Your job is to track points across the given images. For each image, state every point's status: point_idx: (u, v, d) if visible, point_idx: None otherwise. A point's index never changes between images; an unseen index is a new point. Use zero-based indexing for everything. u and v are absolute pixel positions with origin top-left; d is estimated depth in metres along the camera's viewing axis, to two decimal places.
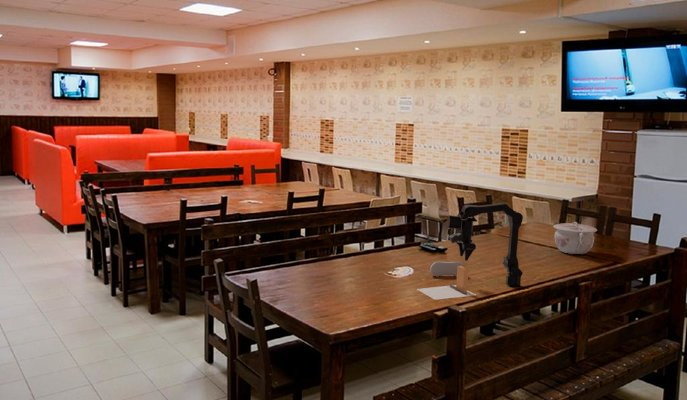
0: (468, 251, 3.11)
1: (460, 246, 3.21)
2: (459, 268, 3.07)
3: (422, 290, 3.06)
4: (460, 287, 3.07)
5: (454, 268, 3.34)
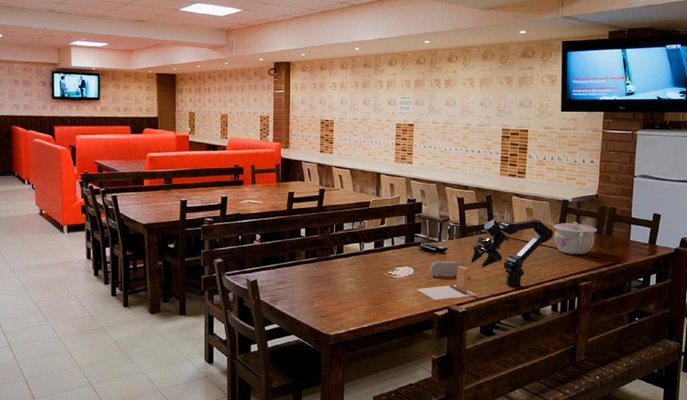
0: (490, 260, 3.06)
1: (476, 253, 3.15)
2: (459, 268, 3.07)
3: (422, 290, 3.06)
4: (460, 287, 3.07)
5: (454, 268, 3.34)
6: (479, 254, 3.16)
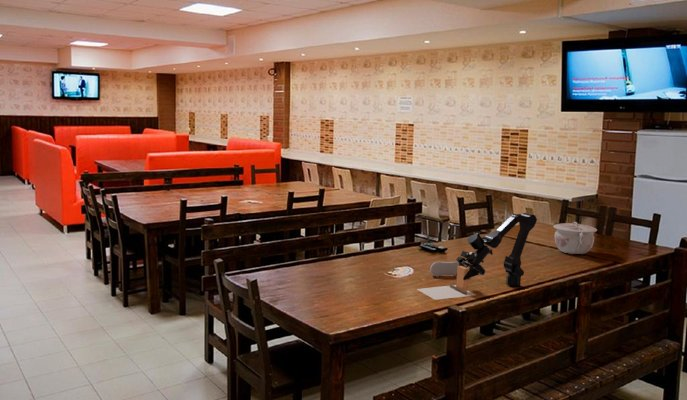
0: (471, 273, 3.04)
1: None
2: (459, 268, 3.07)
3: (422, 290, 3.06)
4: (460, 287, 3.07)
5: (454, 268, 3.34)
6: None
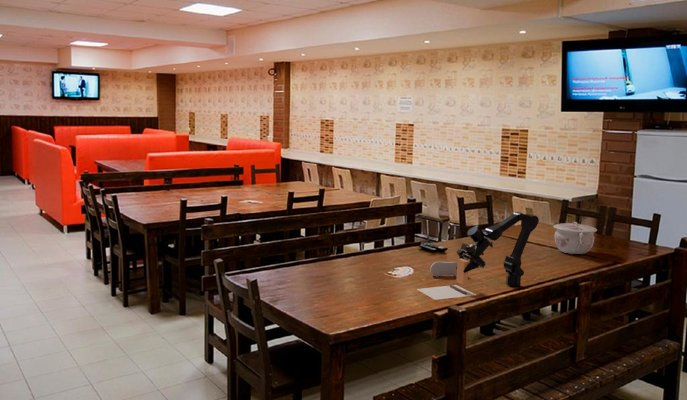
0: (472, 265, 3.03)
1: None
2: (459, 261, 3.07)
3: (422, 290, 3.06)
4: (460, 280, 3.06)
5: (454, 268, 3.34)
6: None
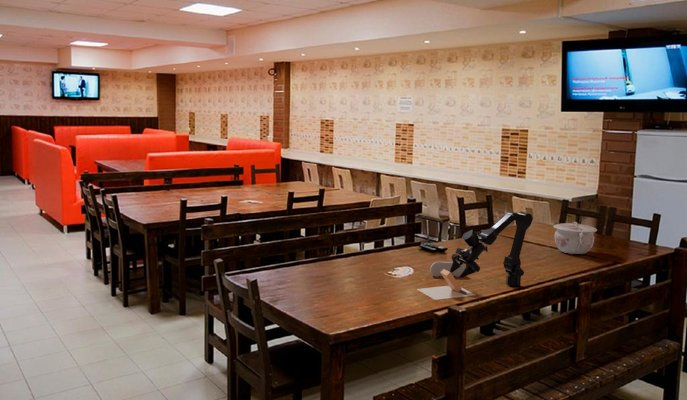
0: (468, 271, 3.01)
1: (455, 264, 3.10)
2: (442, 274, 3.04)
3: (422, 290, 3.06)
4: (453, 288, 3.06)
5: None
6: (457, 265, 3.11)
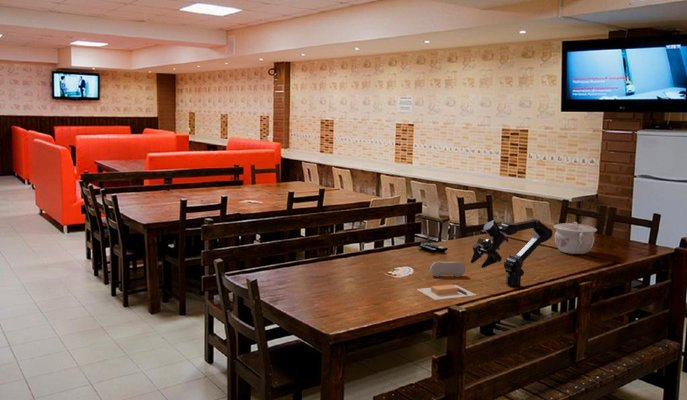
0: (490, 260, 3.06)
1: (476, 254, 3.15)
2: None
3: (422, 290, 3.06)
4: None
5: (454, 268, 3.34)
6: (478, 255, 3.16)
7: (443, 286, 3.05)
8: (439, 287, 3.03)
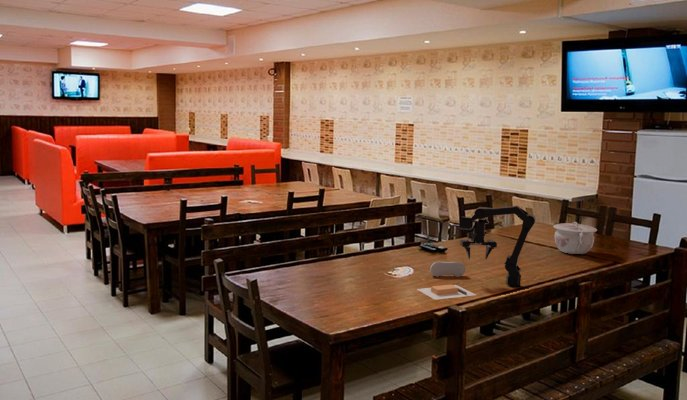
0: None
1: (486, 249, 3.27)
2: None
3: (422, 290, 3.06)
4: None
5: (454, 268, 3.34)
6: (487, 248, 3.25)
7: (443, 286, 3.05)
8: (439, 287, 3.03)
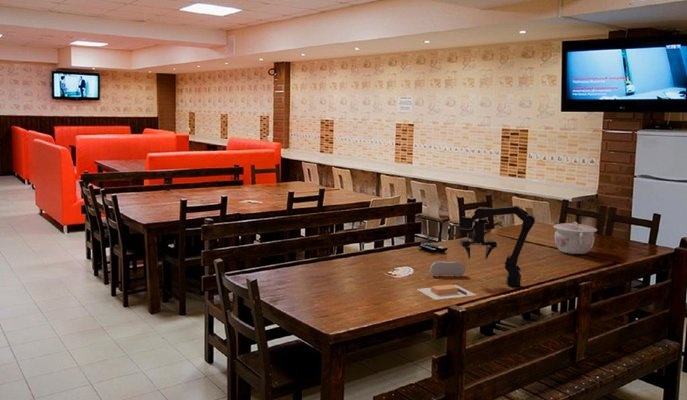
0: None
1: (486, 249, 3.27)
2: None
3: (422, 290, 3.06)
4: None
5: (454, 268, 3.34)
6: (487, 248, 3.25)
7: (443, 286, 3.05)
8: (439, 287, 3.03)
